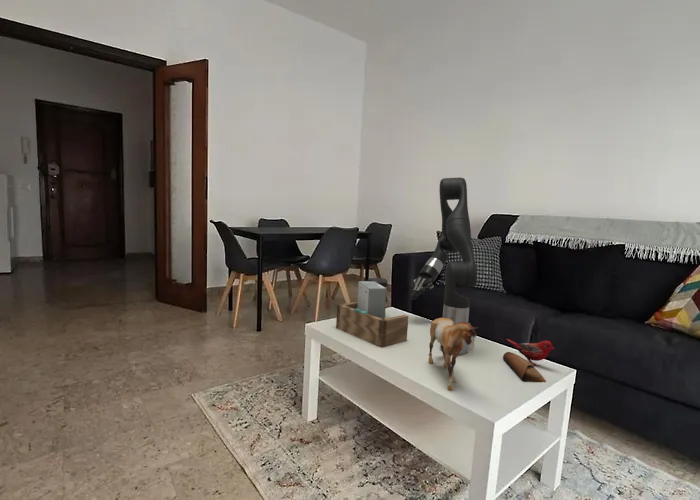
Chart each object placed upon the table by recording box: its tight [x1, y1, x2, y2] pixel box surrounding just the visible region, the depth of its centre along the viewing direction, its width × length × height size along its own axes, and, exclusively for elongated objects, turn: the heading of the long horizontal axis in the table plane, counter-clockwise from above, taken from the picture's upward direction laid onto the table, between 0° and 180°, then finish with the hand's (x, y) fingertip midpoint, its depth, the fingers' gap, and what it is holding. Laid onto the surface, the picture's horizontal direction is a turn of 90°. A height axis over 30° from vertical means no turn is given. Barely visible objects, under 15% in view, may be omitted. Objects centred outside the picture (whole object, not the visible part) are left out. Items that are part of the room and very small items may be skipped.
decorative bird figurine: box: [505, 338, 555, 367], centre depth 142 cm, size 3×18×10 cm, turn 39°
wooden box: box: [335, 300, 409, 348], centre depth 163 cm, size 27×14×11 cm, turn 40°
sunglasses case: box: [502, 351, 547, 383], centre depth 135 cm, size 18×7×7 cm
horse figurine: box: [428, 317, 479, 391], centre depth 127 cm, size 31×8×21 cm, turn 2°
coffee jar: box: [366, 277, 388, 291], centre depth 188 cm, size 10×8×19 cm
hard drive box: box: [356, 280, 387, 319], centre depth 166 cm, size 16×8×20 cm, turn 14°
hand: (412, 298), depth 178 cm, fingers closed
